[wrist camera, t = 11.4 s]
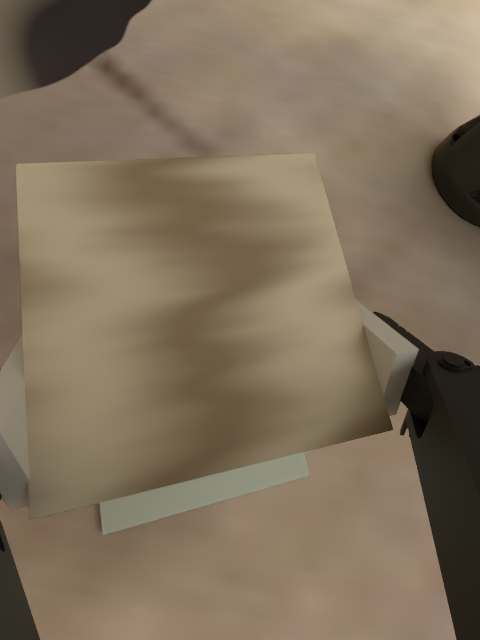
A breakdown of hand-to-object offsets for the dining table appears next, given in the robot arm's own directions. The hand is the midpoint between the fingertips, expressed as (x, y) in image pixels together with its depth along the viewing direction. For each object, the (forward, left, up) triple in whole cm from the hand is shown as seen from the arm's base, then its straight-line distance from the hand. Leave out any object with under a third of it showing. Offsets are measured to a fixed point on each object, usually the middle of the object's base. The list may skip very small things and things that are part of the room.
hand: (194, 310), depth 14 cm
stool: (0, -4, -2) cm, 4 cm away
